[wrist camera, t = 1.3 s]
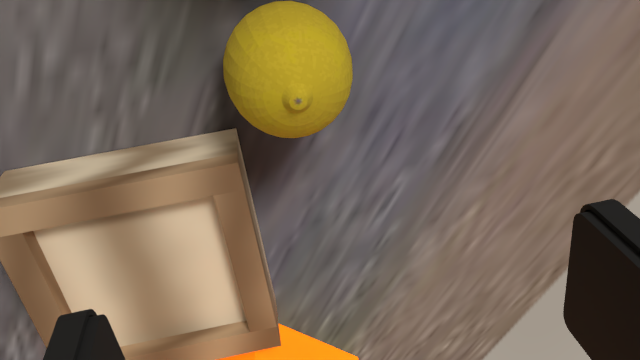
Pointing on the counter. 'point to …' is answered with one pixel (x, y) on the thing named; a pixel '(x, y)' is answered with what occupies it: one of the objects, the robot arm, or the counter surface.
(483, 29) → the counter surface
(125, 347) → the square wooden box
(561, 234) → the counter surface
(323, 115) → the lemon
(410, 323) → the counter surface
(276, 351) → the orange juice
